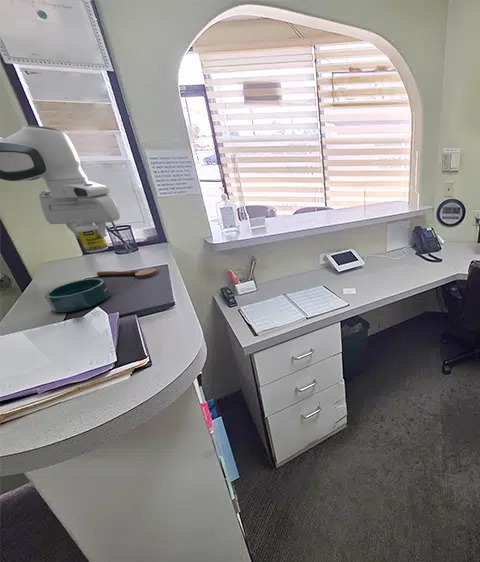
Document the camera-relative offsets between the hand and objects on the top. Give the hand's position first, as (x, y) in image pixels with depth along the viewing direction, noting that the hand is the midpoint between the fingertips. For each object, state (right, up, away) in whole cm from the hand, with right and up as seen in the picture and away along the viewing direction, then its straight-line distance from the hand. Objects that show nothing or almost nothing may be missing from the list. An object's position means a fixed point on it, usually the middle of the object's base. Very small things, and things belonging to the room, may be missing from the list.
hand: (92, 237), depth 93 cm
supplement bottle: (0, -4, +2) cm, 4 cm away
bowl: (+1, -19, -4) cm, 20 cm away
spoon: (-1, -11, +14) cm, 18 cm away
